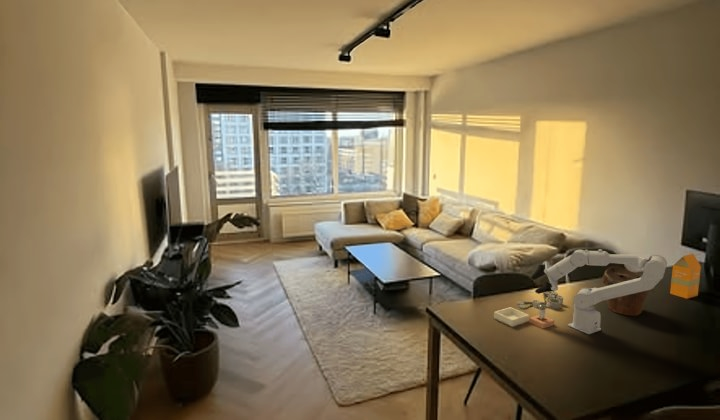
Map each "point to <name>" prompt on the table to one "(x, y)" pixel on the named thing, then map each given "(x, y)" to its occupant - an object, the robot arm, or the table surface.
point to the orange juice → (686, 277)
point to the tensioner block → (539, 323)
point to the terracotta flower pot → (626, 303)
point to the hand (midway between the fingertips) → (534, 285)
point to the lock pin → (542, 311)
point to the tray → (511, 316)
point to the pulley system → (551, 304)
